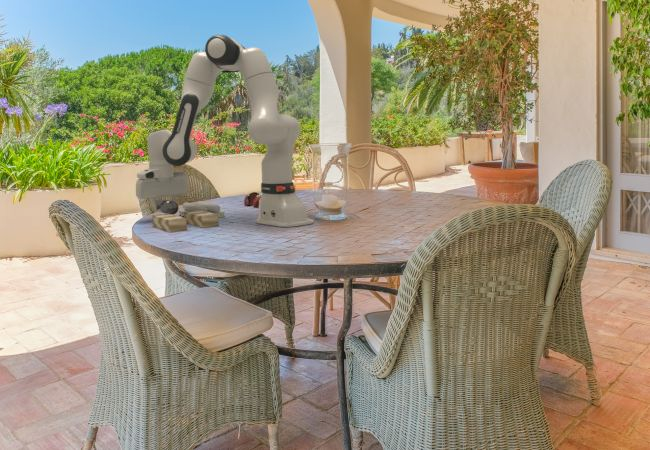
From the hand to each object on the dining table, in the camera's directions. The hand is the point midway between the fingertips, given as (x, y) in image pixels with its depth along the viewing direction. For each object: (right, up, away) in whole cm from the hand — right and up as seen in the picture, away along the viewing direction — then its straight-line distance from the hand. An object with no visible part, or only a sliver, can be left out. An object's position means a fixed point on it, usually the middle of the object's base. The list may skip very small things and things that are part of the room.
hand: (164, 208), depth 218 cm
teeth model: (+32, +2, +34) cm, 46 cm away
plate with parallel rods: (+13, -3, +7) cm, 15 cm away
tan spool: (+12, -7, -15) cm, 20 cm away
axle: (+1, -2, -1) cm, 2 cm away
